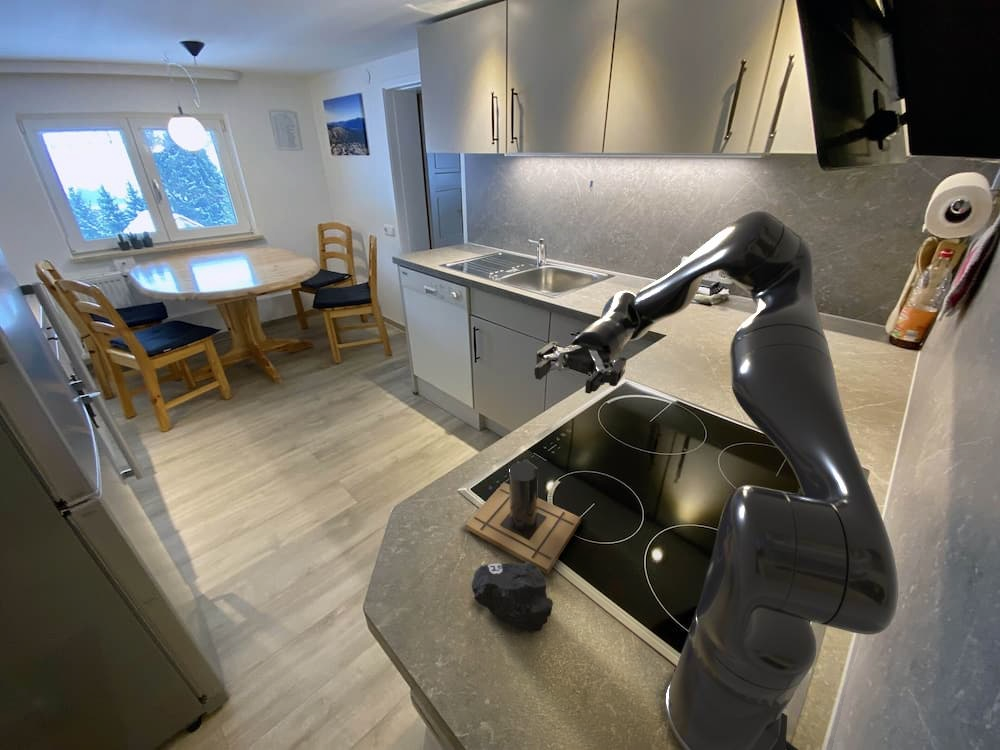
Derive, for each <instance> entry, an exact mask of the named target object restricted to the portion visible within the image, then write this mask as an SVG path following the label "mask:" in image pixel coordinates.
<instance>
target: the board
mask: <svg viewBox="0 0 1000 750" xmlns="http://www.w3.org/2000/svg"><path fill="white" fill-rule="evenodd" d="M581 521H582V517H580V516H578V515H576V514H574V513H572V512H570V511H567V510H565V509H563V508H561V507H559V506H556V505H554V504H552V503H550V502H548V501H545V500H543V499H541V498H540V497H537V522H536V525H535V526H534V527H533V528H531V529H529V530H518V529H516V528H515V527H513V526H512V524H511V522H510V491H509V483H507V482H503V483H502V484H501V485H500V486H499V487H498V488H497V489H496V490H495V491H494V492H493V493H492V494H491V496H490V497H488V499H487V500H486V501H485V502H484V503H483V504H482V505H481V506H480V507H479V508H478V509H477V511H475V513H473V515H472V516H471V517H470V518H469V519H468V521H466V523H465V524H464V527H465V530H467V531H468V532H471V533H472V534H474V535H476V536H477V537H479V538H481V539H483V540H485V541H487V542H488V543H491V544H492V545H494V546H496V547H497V548H499V549H500V550H502V551H504V552H506V553H508V554H510V555H511V556H513V557H515V558H517V559H519V560H520V561H522V562H523V563H526V562H529V563H531V564H533V565H534V566H536V567H537V568H538V569H539V571H541V572H542V573H543V574H544V575H545V574H546V575H548V574H549V573H550V572H551V570H552V568H553V567H554V565H555V563H556V562H557V561H558V559H559V557H560V556H561V554H562V553H563V552H564V549H565V548H566V546H567V545H568V543H569V541H570V540H571V539H572V537H573V536H574V534H575V532H576V531H577V529H578V527H579V526H580V524H581Z"/></svg>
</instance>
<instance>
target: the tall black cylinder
mask: <svg viewBox="0 0 1000 750" xmlns="http://www.w3.org/2000/svg"><path fill="white" fill-rule="evenodd" d="M537 467H538V466H536V465H535V464H534V463H532V462H529V461H517V462H515V463H513V464H512V465H511V466H510V467H509V469H508V481H509V483H508V484H509V491H510V522H511V524H512V526H513V527H515V528H516V529H518V530H529V529H531V528H533V527H534V526H535V525H536V522H537V498H538V495H539V494H538V490H539V469H538V468H537Z"/></svg>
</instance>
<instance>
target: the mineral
mask: <svg viewBox="0 0 1000 750" xmlns="http://www.w3.org/2000/svg"><path fill="white" fill-rule="evenodd" d="M476 569H477V570H475V572H474V574H473V579H472V582H471V590H472V592H473V598H474V600H475V601H476V603H478V604H479V605H481V606H483V607H485V608H486V609H488V610H489V612H490V613H491V614H492V615H494V617H495V618H496V619H497V620H498V621H500V622H502V623H504V624H506V625H509V626H511V627H513V628H515V629H518V630H520V631H523V632H525V633H529V634H530V633H536V632H540V631H542V629H543V627H544V625H546V624H547V623H548V620H549V619H548V618H549V617H550V616H551V615H552V611H553V607H554V601H553V600H552V598H550V597H548V596H547V587H548V586H547V582H546V581H547V579H546V578H545V576H544V575H543V574H544V573H543V572H542V571H540V570H539V569H538V568H537V567H536V566H534V565H533V564H531V563H529V562H516V563H515V562H503V563H502V562H499V563H488V564H484V565H479V567H478V568H476Z"/></svg>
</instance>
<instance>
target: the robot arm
mask: <svg viewBox="0 0 1000 750" xmlns="http://www.w3.org/2000/svg"><path fill="white" fill-rule="evenodd" d="M715 272H719V273H721V275H723V276H724V277H726V278H727V279H728V280H730V281H731V282H733V283H734V284H735V285H737V286H738V287H740V288H741V289H742V290H743V291H744V292H746V293H747V295H748V296H749V297H750V298H751V299H752V301H753V305H754V309H755V310H754V312H755V313H754V314H752V315H751V316H750V317H748V318H747V319H746V320H744V322H743V323H742V324H741V325H739V327H738V328H737V329H736V332H735V333H734V335H733V337H732V339H731V343H730V349H729V363H730V365H729V366H730V367H729V368H730V385H731V389H732V393H733V395H734V398H735V400H736V401H737V403H738V404H739V406H740V407H741V409H742V410H743V412H745V414H746V415H747V416H748V418H749V419H750V420H751V421H752V422H753V424H754V425H755V426H756V427H757V428H758V429H759V430H760V432H761V433H762V434H763V435H764V436H765V437H766V438H767V439H768V440H769V441H770V442H771V443H772V444H773V445H774V446H775V448H776V449H777V450H778V451H779V453H780V454H781V455H782V456H783V457H784V459H785V461H786V462H787V463H788V465H789V467H790V468H791V470H792V472H793V473H794V476H795V478H796V480H797V482H798V485H799V487H800V490H801V494H799V493H794V492H789V491H784V490H778V489H773V488H769V487H763V486H758V485H751V484H744V485H740V486H738V487H737V488H735V489H734V490H733V491H732V492H731V493H730V494H729V496H728V498H727V499H726V502H725V503H724V506H723V509H722V512H721V515H720V519H719V523H718V527H717V531H716V534H715V535H716V536H715V540H714V544H713V548H712V552H711V557H710V560H709V563H708V566H707V569H706V573H705V576H704V580H703V585H702V590H701V594H700V597H699V600H698V602H697V606H696V609H695V612H694V615H693V617H692V620H691V623H690V626H689V629H688V632H687V635H686V638H685V641H684V644H683V647H682V650H681V652H680V655H679V659H678V662H677V664H676V666H675V667H674V670H673V676H672V679H671V681H670V683H669V684H668V687H667V691H666V694H665V703H664V706H665V714H666V719H667V722H668V725H669V727H670V730H671V731H672V734H673V736H674V737H675V739H676V741H677V742H678V744H679V745H680V747H681V748H682V749H683V750H799V749H798V748H797V747H796V746H794V745H793V744H791V743H790V742H789V741H788V740H787V730H788V729H787V728H788V715H787V714H786V713H784V711H785V710H786V708H787V706H788V705H789V703H790V701H791V700H792V699H793V697H794V695H795V693H796V692H797V690H798V688H799V687H800V686H801V684H802V682H803V681H804V680H805V678H806V676H807V675H808V673H809V672H810V671H811V668H812V667H813V665H814V662H815V661H816V657H817V639H816V635H815V632H814V629H813V626H812V624H811V623H814V624H819V625H823V626H826V627H830V628H834V629H838V630H841V631H846V632H850V633H853V634H858V635H859V634H860V635H867V636H869V635H877V634H879V633H882V632H884V631H885V630H886V629H887V628H888V627H889V626H890V624H891V623H892V622H893V620H894V618H895V616H896V612H897V608H898V599H899V578H898V570H897V564H896V559H895V555H894V551H893V547H892V543H891V540H890V537H889V534H888V530H887V528H886V525H885V522H884V520H883V517H882V514H881V512H880V511H881V510H880V508H879V506H878V504H877V500H876V498H875V496H874V493H873V491H872V489H871V486H870V484H869V481H868V479H867V477H866V474H865V471H864V468H863V465H862V464H861V461H860V458H859V456H858V453H857V451H856V448H855V446H854V443H853V439H852V437H851V433H850V430H849V427H848V424H847V421H846V416H845V414H844V409H843V406H842V405H843V404H842V401H841V397H840V392H839V389H838V384H837V378H836V372H835V368H834V363H833V360H832V356H831V352H830V348H829V343H828V341H827V337H826V335H825V331H824V328H823V323H822V321H821V316H820V311H819V308H818V305H817V301H816V297H815V286H814V285H815V283H814V261H813V255H812V250H811V248H810V246H809V244H808V243H807V242H806V240H805V239H803V238H802V237H801V236H800V235H799V234H797V233H796V232H795V231H794V230H792V229H791V228H789V227H788V226H787V225H786V224H785V223H784V222H782V221H781V220H779V218H777V217H775V216H774V215H772V214H771V213H769V212H767V211H764V210H755V211H751V212H749V213H746V214H745V215H743V216H741V217H739V218H738V219H736V220H735V221H733V222H731V223H730V224H729V225H728V226H726V227H724V228H723V229H722V230H721V231H719V232H718V233H717V234H716V235H715V236H714V237H712V238H710V240H709V241H707V242H706V243H705V244H703V245H702V246H700V248H698V249H697V250H696V251H695V252H694V253H692V254H691V255H690V256H689V257H688V258H687V259H685V260H684V261H683V262H681V264H680V265H678V267H676V268H675V269H673V270H672V271H671V272H669V273H668V274H667V275H665V276H663V277H661V278H660V279H658V280H655V282H652V283H651V284H649V285H647V286H646V287H643V288H641V290H639V291H638V292H637V293H636V294H634V293H633V292H631V291H628V290H623V291H619V292H617V293H615V294H614V295H612V296H611V297H610V298H609V299H608V300H607V302H606V303H605V305H604V307H603V308H602V311H601V315H600V318H599V319H597V320H596V321H594V322H592V323H591V324H589V325H588V326H587V327H586V328H584V330H582V331H581V332H580V333H579V334H577V335H576V337H575V338H574V339H573V341H572V342H571V343H570V345H568V346H565V347H560V346H558V342H557V341H550V342H549V343H548V344H546V345H544V346H543V347H542V348H541V349H539V350H537V351H536V354H535V358H536V359H535V360H536V361H535V366H534V376H535V379H536V380H542V379H543V378H544V377H545V376H546V375H548V374H549V372H550V371H555V370H557V371H559V372H562V371H568V370H573V371H578V372H580V373H585V374H587V373H588V374H589V375H590V376H589V377H588V379H586V381H585V388H584V393H585V394H589V395H591V394H592V393H594V392H596V391H598V390H599V388H600V387H602V386H604V385H605V384H608V385H609V386H610V387H618V384H619V383H620V381H621V379H622V378H623V376H624V375H625V373H626V366H627V358H626V357H625V356H620V357H619V358H618V359H616V357H617V356H618V355H619V354H621V352H622V350H623V348H624V346H625V345H626V344H627V343H628V342H631V341H632V342H633V341H637V340H639V339H641V338H642V337H643V336H645V335H646V334H648V332H649V331H650V330H651V329H652V328H653V327H654V326H655V325H656V324H658V323H659V322H661V321H663V320H665V319H667V318H670V317H672V316H674V315H677V314H679V313H681V312H682V311H684V310H686V309H687V308H688V307H689V306H690V304H691V303H692V302H693V300H694V299H695V297H696V295H697V293H698V290H699V288H700V285H701V282H702V280H703V278H705V276H707V275H709V274H711V273H715ZM553 360H555V361H554V363H552V361H553ZM563 361H564V362H563ZM609 368H610V371H609V370H608V371H607V369H609Z"/></svg>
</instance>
